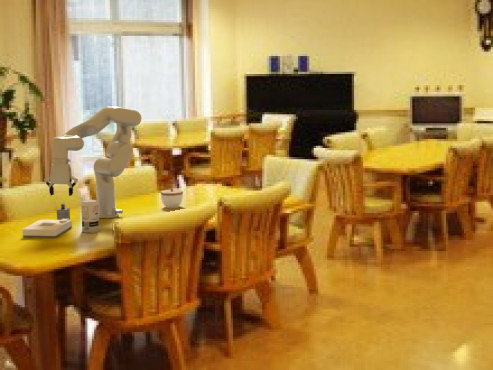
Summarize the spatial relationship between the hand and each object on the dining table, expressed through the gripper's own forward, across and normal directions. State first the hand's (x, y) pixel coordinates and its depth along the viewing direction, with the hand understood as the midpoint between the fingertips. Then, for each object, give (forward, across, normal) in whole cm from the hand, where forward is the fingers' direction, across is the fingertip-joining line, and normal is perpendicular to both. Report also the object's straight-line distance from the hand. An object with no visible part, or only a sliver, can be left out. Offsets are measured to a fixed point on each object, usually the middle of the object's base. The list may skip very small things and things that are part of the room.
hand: (61, 195), depth 365 cm
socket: (+16, 0, +18) cm, 24 cm away
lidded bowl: (+14, -47, -50) cm, 70 cm away
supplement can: (+15, -20, +14) cm, 29 cm away
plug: (+15, -1, -1) cm, 15 cm away
